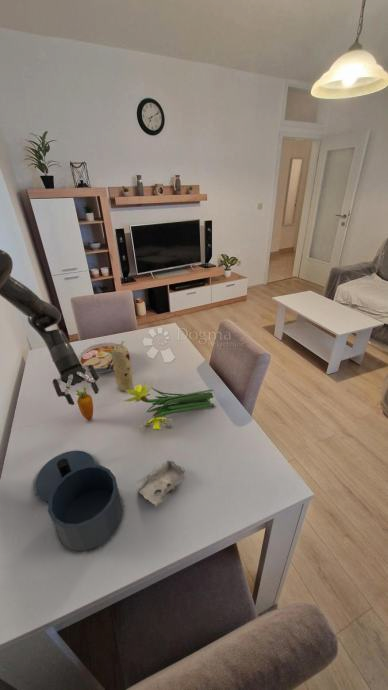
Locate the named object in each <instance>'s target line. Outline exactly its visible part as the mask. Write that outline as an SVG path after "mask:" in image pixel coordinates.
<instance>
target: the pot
mask: <svg viewBox="0 0 388 690" xmlns="http://www.w3.org/2000/svg"><path fill="white" fill-rule="evenodd" d="M47 502H48V501H47ZM47 512H48V515H49V517H50V519H51V521H52V523H53V525H54V528H55V530H56V533H57V534H58V536H59V539H60V540H61V542H62V544H63V545H64V546H65V547H66V548H68V549H70V550H72V551H74V552H75V551H76V552H85V551H90V550H94V549H96V548H98V547H99V546H101V545H103V544H104V543H106V542H107V541H108V540H109V539H110V538H111V537H112V536H113V535H114V533H115V532H116V530H117V528H118V527H119V524H120V522H121V519H122V513H123V506H122V500H121V495H120V492H119V487H118V482H117V478H116V476H115V474H114V473H113V472H112V471H111V469H110V468H107V467H105V466H103V465H100V464H96V465H87V466H83V467H80V468H77V469H75V470H73V471H72V472H70V473H68V474H67V475H65V476H64V477H63V478H62V479H61V480H60V481H59V482H58V483H57V484H56V485H55V487H54V489H53V491H52V493H51V495H50V497H49V502H48V503H47Z"/></svg>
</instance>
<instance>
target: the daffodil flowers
mask: <svg viewBox="0 0 388 690" xmlns="http://www.w3.org/2000/svg"><path fill="white" fill-rule="evenodd" d="M156 384H157V382H155V383H153V385H152V386H150V387H149V388H148V389H147V384H146V382H144V383H143V384H142V385H141V384H137V385H136V386H134V388H133V389H132V390H128V389H125V390H126V391H125V392H126V393H127V394H129V395H131V396H132V397H131V398H128V399H125V400H124V402H129V403H130V402H135V403H137V402H140V401H142V402H144V403H148V404H151V406H150V407H148V409H147V410H146V411H145V413H152V412H153V413H154V414H153V415H152V416H151V418H150V420H148V421H147V422H145V423H143V424H141V425H140V426H139V427H138V428H139V429H140V428H141V427H143V426H145V425H146V427H147V426H150V425H151V424H152V425H153V426H152V430H153V431H160V430H161V424H163V425H165V426H166V427H169V428H170V425H169V424H168V423H167V422H165V421H164V420H166V421H167V420H168V421H171V418H167V417H166V416H169V415H170V416H171V415H175V414H181V413H187V412H192V411H199V410H204V409H210V408H214V406H215V404H214V403H211V402H210V400H211V399H214V394H213V392H214V389H207V390H200V391H195V392H190V393H189V392H188V393H169V392H163V391H160V390H157V389H155V388H154V386H155V385H156ZM151 389H152V390H153V391H155V392H157V393H158V394H159V396H157V395H156V396H154V397H155V398H152V399H150V398H148V397H149V396H150V395H151V393H148V392H149V391H151ZM160 395H161V396H160ZM172 421H174V422H175V420H173V419H172Z"/></svg>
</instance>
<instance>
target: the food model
mask: <svg viewBox="0 0 388 690" xmlns="http://www.w3.org/2000/svg"><path fill="white" fill-rule="evenodd" d="M120 344H121V343H119V344H117V345H115V346H114V351H112V359H113V366H114V370H113V372H114V377H115V381H116V386H117V388H118V389H119V390H120V391H122V392H127V391H126V390H125V389H128V390H133V386H134V377H133V368H132V362H131V358H130V352H129V349H128V348H127V347H126V345H124V344H123V345H120Z"/></svg>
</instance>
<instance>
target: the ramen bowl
mask: <svg viewBox="0 0 388 690" xmlns="http://www.w3.org/2000/svg"><path fill="white" fill-rule="evenodd" d="M124 342H125V340H122V341H121V343H119V342H112V341H108V342H99V343H95V344H91V345H89V346H87V347H86V348H84V349H83V350H81V351H80V352H79V353H78V355H77V357H78V359H79V361H80V363H81V365H82V367H83V368H86V367H88V366H89V365H92V366H93V368H94V369H95V371H96V373H97V374H101V373H102V374H103V373H108V372H112V371H114V366H113V359H112V351H114V346H115V345H117V344H120V345H124Z"/></svg>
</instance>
